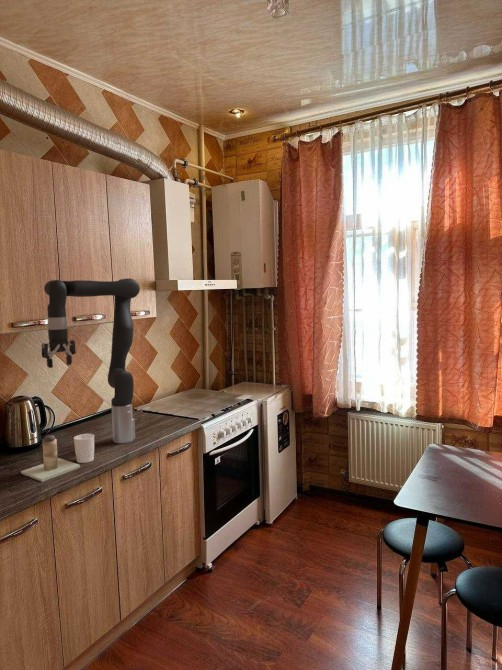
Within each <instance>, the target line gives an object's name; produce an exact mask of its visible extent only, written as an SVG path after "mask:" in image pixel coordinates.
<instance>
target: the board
mask: <svg viewBox="0 0 502 670" xmlns="http://www.w3.org/2000/svg"><path fill="white" fill-rule="evenodd" d="M57 458H58V468H56V469H54V470H44V463H41V464H39V465H36V466H33V467H30V468H26V469H24V470H21V471H20V473H21V475H23V476H26V477H28V476H29V478H31V479H34V480H37V481H39V482H42V483H43V482H45V481H48V480H52V479H54V478H56V477H59V476H61V475H64V474H67V473H69V472H72V471H75V470H77V469H79V468H81V464H80V463H75V462H72V461H69V460H66V459H63V458H60V457H57Z"/></svg>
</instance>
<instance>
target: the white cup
mask: <svg viewBox="0 0 502 670" xmlns="http://www.w3.org/2000/svg"><path fill="white" fill-rule="evenodd" d="M73 442H74V443H73V445H74V453H75V457H76V462H77V464H85V463H90V462H93V461H94V460H95V457H94V456H95V434H93V433H83V434H79V435H78V434H77V435H76V436H74V437H73Z"/></svg>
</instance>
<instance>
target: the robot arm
mask: <svg viewBox="0 0 502 670" xmlns="http://www.w3.org/2000/svg"><path fill="white" fill-rule="evenodd" d="M43 290H44V292H45V294H46V295H47V296H48V299H49V301H48V305H47V307H46V308H47V310H46V311H47V333H48V343H45V342H42V343H41V357H42V359H46V365H47V368H49V369H53V367H54V365H53V358H54V355H55V354H57V353H61V352H62V353H64V354H65V355H66V357H65V358H66V360H65V361H66V365H67V366H72V363H73V358H72V356H74V355H75V354H76V353H77V351H76V342H75V340H72V339H71V340H68V339H69V335H68V334H69V332H68V320H67V311H66V310H67V309H66V305H67V303H66V302H67V297H74V298H75V297H76V298H78V297H79V298H89V297H103V296H107V297H108V296H109V297H111V296H114V312H113V313H114V314H113V324H112V325H113V326H112V333H111V335H112V337H111V352H110V354H111V355H110V363H109V368H108V372H107V383H108V385H109V386H110V388H112V389H114V397H112V398H111V401H110V402H111V421H112V424H111V425H112V426H111V427H112V443H115V444H127V443H131V442H133V441H134V440H135V439H136V424H135V418H133V417H134V416H133V415H134V414H133V412H134V411H133V399H134V389H135V388H134V384H135V383H134V376H133V374H132V373H131V372H130V371H128V370H126V361H127V357H128V354H129V352H130V350H131V347H132V345H133V340H134V322H133V319H132V314H131V301H132V299H135V297H137V296H138V295H139V293H140V291H141V288H140V284H139V282H138V281H137V280H135V279H133V278H129V277H128V278H120V279H119V280H112V281H107V280H106V281H104V280H103V281H101V280H100V281H99V280H80V279H79V280H75V279H74V280H59V279H53V280H49V281H47V282H46V283H45V285H44V287H43Z"/></svg>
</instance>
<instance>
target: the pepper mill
mask: <svg viewBox="0 0 502 670" xmlns="http://www.w3.org/2000/svg"><path fill="white" fill-rule="evenodd" d="M57 441H58V439H57V438H56V437H55V435H53V434H51V435H50V434H49V435H45V436H44V438H43V440H42V457H43V459H42V460H43V464H44V470H54V469H56V468H58V458H59V457H58V443H57Z"/></svg>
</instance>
